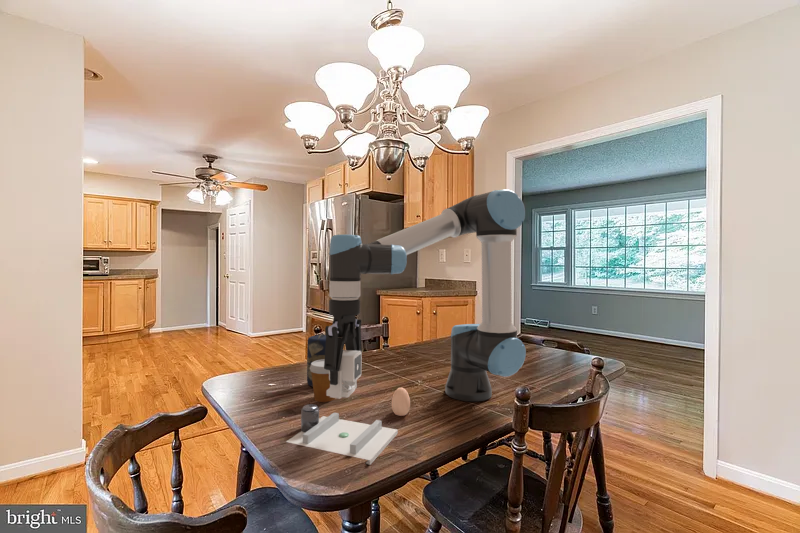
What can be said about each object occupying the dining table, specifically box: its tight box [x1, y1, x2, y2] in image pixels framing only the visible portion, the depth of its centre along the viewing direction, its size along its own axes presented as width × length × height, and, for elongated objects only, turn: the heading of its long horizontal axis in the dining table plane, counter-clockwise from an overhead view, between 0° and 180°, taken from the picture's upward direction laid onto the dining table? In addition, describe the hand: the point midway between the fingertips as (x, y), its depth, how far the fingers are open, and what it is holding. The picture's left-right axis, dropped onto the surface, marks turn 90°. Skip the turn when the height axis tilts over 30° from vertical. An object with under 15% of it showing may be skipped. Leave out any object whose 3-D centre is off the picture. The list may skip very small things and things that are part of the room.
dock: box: [285, 412, 399, 466], centre depth 93 cm, size 22×16×3 cm
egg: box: [391, 387, 411, 417], centre depth 106 cm, size 5×5×8 cm
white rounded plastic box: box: [326, 349, 363, 398], centre depth 92 cm, size 6×7×10 cm
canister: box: [306, 333, 326, 388], centre depth 133 cm, size 10×10×18 cm
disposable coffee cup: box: [310, 359, 337, 403], centre depth 118 cm, size 10×10×12 cm
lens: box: [300, 403, 320, 433], centre depth 96 cm, size 4×4×6 cm
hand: (343, 392), depth 92 cm, fingers closed on white rounded plastic box, 7 cm apart
